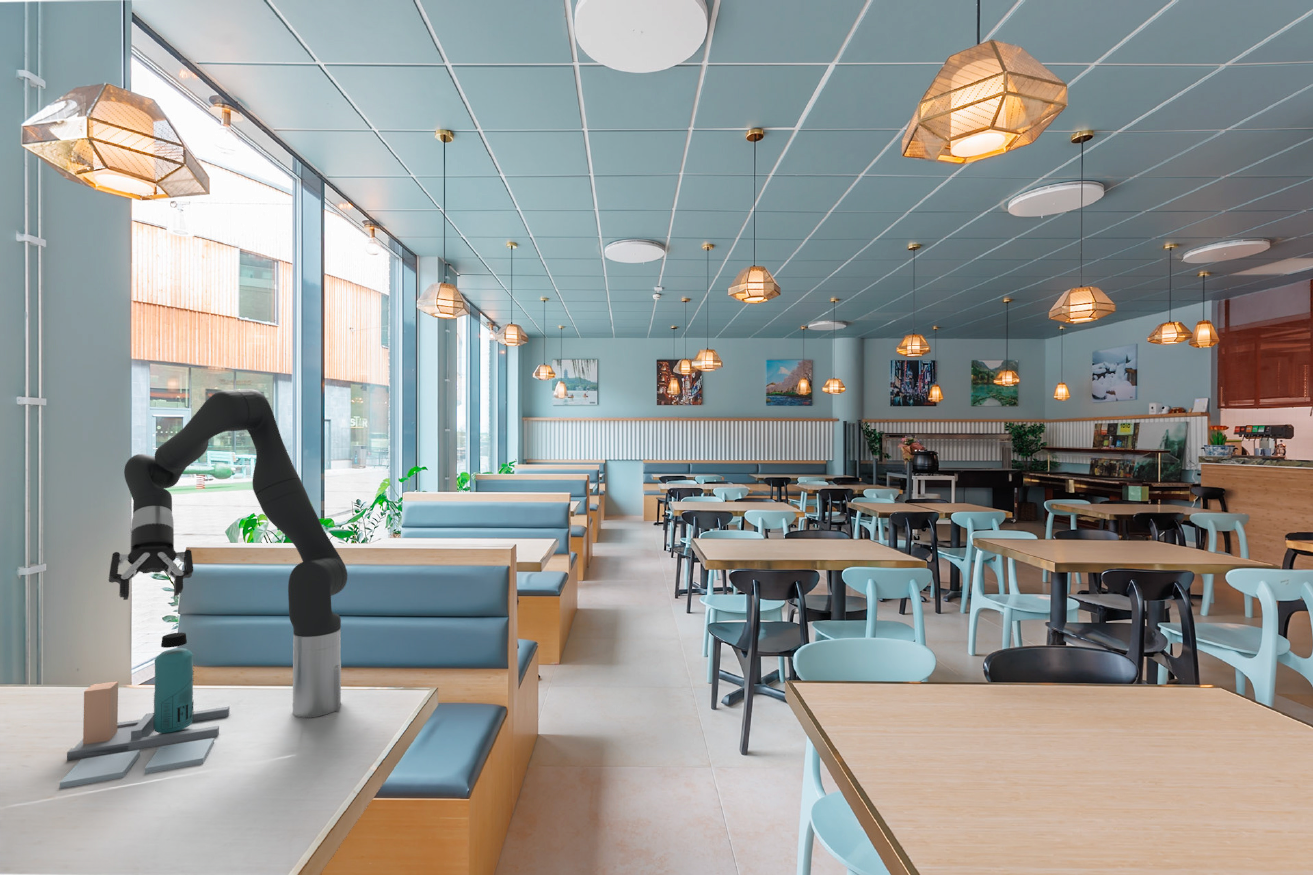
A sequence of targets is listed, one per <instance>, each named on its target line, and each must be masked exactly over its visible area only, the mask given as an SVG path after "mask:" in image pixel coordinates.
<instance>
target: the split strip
mask: <svg viewBox="0 0 1313 875" xmlns="http://www.w3.org/2000/svg"><path fill="white" fill-rule="evenodd" d="M214 744H215V737H211V738H204V739H198V740H192V741H186V742H179V743H173V744H167V745H161V746H158V748H157V750H156V751H155V753H154V754H153V756H152V757H151V759H150V760H149V762H148V763H147V764H146V765H145V767H144V774H151V773H155V772H156V773H157V772H162V771H166V770H174V769H179V768H184V767H190V766H196V765H201V764H204V762H205V761H206V759H207V757H208V755H209V754H210V751H211V749H212V747H213V746H214ZM140 756H141V749H136V750H130V751H123V752H117V753H111V754H105V755H98V756H92V757H86V758H80V760H79V761H78V762H77V763H76V765H75V766H74V767H73V768H72V769H71V770H70V771H69V772H68V773H67V774H65V776H64V777H63V778H62V779H61V780H60V782H59V789H64V788H68V787H76V786H81V785H87V784H92V783H98V782H104V781H109V780H115V779H116V780H117V779H120V778H121V779H123V778H124V777H125V776H126V774H127V773H129V771H130V769H131V768H132V767H133V766H134V764H135V762H136V761H137V760H138V758H139V757H140Z"/></svg>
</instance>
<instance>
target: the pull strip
mask: <svg viewBox="0 0 1313 875" xmlns="http://www.w3.org/2000/svg"><path fill="white" fill-rule="evenodd" d="M118 704H119V681H111V682H103V683H94V684H91V685H89V687H88V688H86V689H85V690H84V691H83V731H82V732H83V733H82V734H83V735H82V739H81V740H80V741H79V742H78V743H77V744H76V745H75V747H73V748H71V747H70V749H69V750H68V751H67V752H66V761H72V760H79V759H80V760H81V759H86V758H92V757H98V756H104V755H110V754H117V753H123V752H129V751H135V750H143V749H147V748H152V747H153V748H154V747H160V746H166V745H173V744H179V743H185V742H191V741H197V740H204V739H210V738H216V737H218V736H219V734H220V725H215V726H208V727H201V728H195V729H189V730H182V731H181V730H180V731H174V732H168V733H161V734H157V735H151V733H152V732H153V731H155V729H154V726H153V725H154V718H153V717H154V716H153V715H154V712H151V713H145V714H144V716H143V717H142V718H141V719H133V720H126V721H121V722H120V721H118V720H119V718H118V714H119V713H118V712H119V711H118V710H119V705H118ZM193 713H194V714H193V715H194V716H193V720H192V723H193V722H198V721H204V720H212V719H218V718H225V717H229V716H230V706H223V707H216V708H210V709H202V710H196V711H193Z"/></svg>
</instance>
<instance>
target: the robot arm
mask: <svg viewBox="0 0 1313 875" xmlns="http://www.w3.org/2000/svg"><path fill="white" fill-rule="evenodd" d="M236 431H237V432H238V431H247V432H248V434H249V436H250V438H251V440H252V443H253V445H254V448H255V454H256V459H255V464H254V468H253V475H252V489H253V493H254V495H255V497H256V499H257V502H258V504H259V505H260V507H261V510H262V512H263V513H264V515H265V516H266V518H267V519H268V521H270V522H271V524H273V525H274V526H275V527H276V528H277V529H278V530H279V531H280V532H281V533H283V535H285V536H286V537H287V538H288V539H289V540H290V542H292V544H293V545H294V547H295V548H296V550H297V552H298V555H299V557H300V558H301V561H302V562H300V563H298V564H296V565H295V567H294V568H293V569H292V570H291V572H290V575H289V578H288V585H287V592H288V594H287V596H288V616H289V621H290V623H291V625H292V628H293V629H292V630H293V640H292V652H293V653H292V665H293V666H292V715H293V716H294V717H297V718H306V719H307V718H315V717H321V716H324V715H328V714H330V713H334V712H337V711H341V710H340V708H341V701H342V700H341V698H342V697H341V695H342V693H341V691H342V688H341V687H342V686H341V684H342V682H341V681H342V680H341V679H342V678H341V677H342V676H341V675H342V659H341V640H342V639H341V635H342V634H341V630H342V628H341V627H342V626H341V624H342V620H341V616H340V615H339V614H337V613H334V612H333V610H332V597H333V596H335V595H337V594H338V593H341V591H343V590H344V588H345V587H346V585H347V582H348V570H347V567H346V565H345V562H344V561H343V559H342V557H341V555H340V554H339V553H338V551H337V549H336V548H335V545H334V544H333V543H332V542H331V540H330V538H329V537H328V535H327V533H326V531H325V529H324V528H323V527H324V526H323V524H322V523H321V521H320V518H319V516H318V515H317V512H316V511H315V508H314V507H313V505H312V503H311V500H310V498H309V495H308V493H307V491H306V489H305V486H304V484H303V483H302V480H301V478H300V475H299V474H298V472H297V470H296V469H295V467H294V464H293V462H292V459H291V457H290V455H289V453H288V451H287V450H288V449H286V446H285V442H284V441H283V438H282V437H281V436H282V435H281V433H280V432H281V431H280V429H279V427H278V424H277V421H276V418H275V415H274V411H273V410H272V406H271V405H270V403H269V400H268V399H267V397H266V396H265V395H264V394H263V393H262V392H260V391H259V390H257V389H250V388H248V389H247V388H243V389H242V388H241V389H237V388H236V389H222V390H219V391H217V392H214V393H213V394H212V395H210V396H209V397H208V398H207V400H206V401H205V402H204V403H203V404H202V405H201V407H200V408H199V409H198V410H197V411H196V413H195V414H194V415H193V416H192V418H190V420H189V421H188V422H187V424H186V425H185V426H184V427H183V428H181V430H180V431H179V432H177V433H176V434H175V435H173V436H172V437H170V438H169V439H168V440H167V441H165V442H164V443H163V444H161V445H160V446H159V447H158V448H157V449H156V451H155V453H154V456H153V455H150V454H149V455H148V454H145V453H139V454H135V455H133V456H130V458H129V459H128V460H127V461H126V463H125V465H124V470H123V475H124V479H125V482H126V485H127V488H128V489H129V492H130V493H129V494H130V495H131V497H132V500H133V505H132V519H131V523H130V524H131V525H130V526H131V527H130V552H129V553H128V554H125V553H124V554H123V553H122V554H120V552H118V551H115V552H113V553H112V555H111V560H110V565H109V566H110V568H109V574H108V583H112V584H113V583H118V584H119V591H118V593H119V594H118V596H119V597H120V598H122V599H123V601H125V600H129V597H130V580H131V579H133V578H134V577H136V575H138V574H139V573H142V574H149V573H150V574H151V573H156V574H157V573H158V574H159V573H161V572H164V573H165V574H166V575H168V576H170V577H171V578H173V580H174V581H173V596H174V597H178V596H179V594H181V593H182V592H183V590H184V579H189V578H191V577H192V574H193V573H194V564H193V563H194V562H193V555H192V550H191V549H186V550H185V551H179V552H178V551H176V550H175V546H174V544H175V539H174V535H175V534H174V532H175V531H174V517H173V498H172V494H171V492H170V491H168V490H167V489H169V488H172V487H174V486H175V485H177V483H178V482H179V480H180V478H181V476H182V475H183V473H184V472H185V470H186V469H187V467H189V466H190V465H192V464H193V463H194V462H196V461H197V460H198V459H199V458H201V457H202V456H203V455H204V454H205V453H206V451H207V450H208V447H209V442H210V441H209V440H210V439H211V438H213V437H216V436H218V435H220V434H221V433H225V432H236ZM176 559H178V560H179V562H181V563H183V569H184V570H182V569H180V568H179V567H178V565H177V563H175V562H174V561H175V560H176ZM126 561H127V562H128V563H129V564H130V566H129V567H128V569H127V570H125V572H124V573H122V574H120V573H118V572H119V566H121V565H123V564H124V562H126Z"/></svg>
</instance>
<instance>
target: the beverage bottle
mask: <svg viewBox="0 0 1313 875" xmlns="http://www.w3.org/2000/svg"><path fill="white" fill-rule="evenodd" d="M187 643H188V638H187V633H186V632H172V633H168V634H165V635H163V636H162V637H161V644H160V647H161V648H163V649H164V648H166V649H167V650H164V651H162V652H161V653H160V654H159V655H158V656H156V657H155V659H154V692H153V704H152V705H153V713H154V715H153V716H154V717H153V718H154V725H153V726H154V732H156V733H158V734H168V733H175V732H179V731H181V730H184V729H186V728H188V727H190V726H191V725H192V723H193V722H192V720H193V716H194V715H193V714H194V713H193V712H194V704H195V703H194V698H193V697H194V689H193V688H194V679H195V678H194V675H195V674H194V666H193V664H194V663H193V662H194V660H193V659H194V658H193V657H194V653H193V652H192V651H191V650H190V649H188V648H183V647H182V648H181V646H183V645H186V644H187ZM175 647H180V648H175ZM169 648H173V649H169Z"/></svg>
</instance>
